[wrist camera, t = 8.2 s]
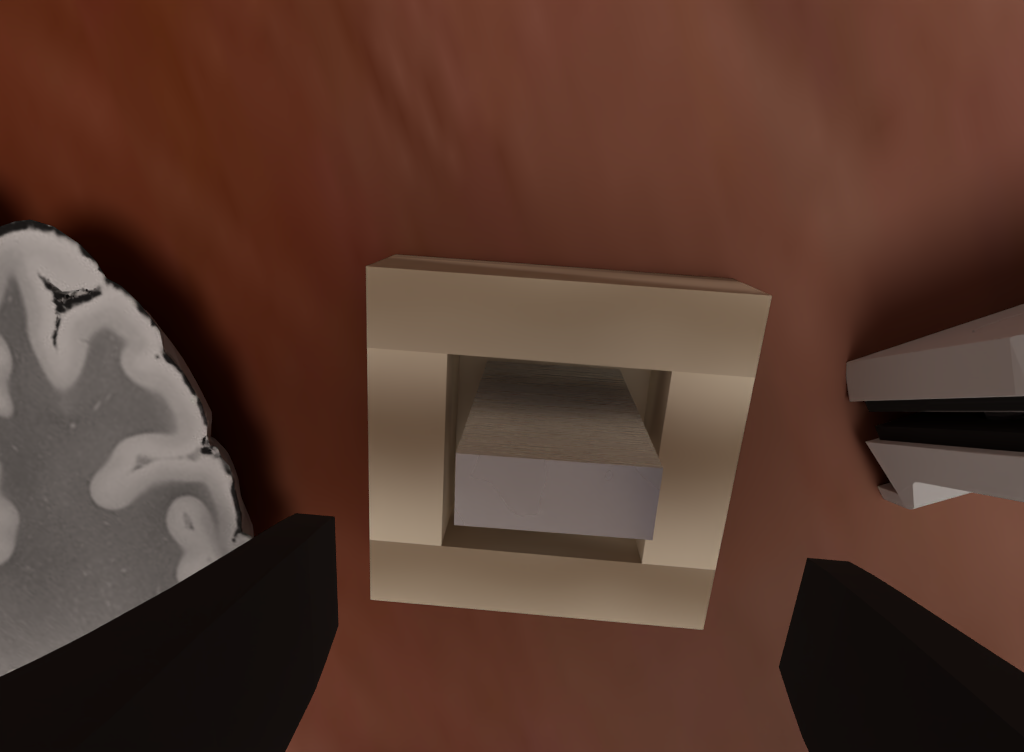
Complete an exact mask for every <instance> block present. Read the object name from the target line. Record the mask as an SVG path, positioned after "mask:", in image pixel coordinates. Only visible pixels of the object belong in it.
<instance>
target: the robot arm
mask: <svg viewBox="0 0 1024 752" xmlns="http://www.w3.org/2000/svg"><path fill="white" fill-rule="evenodd" d="M337 628H338V601H337V572H336V543H335V517H332V516H321V515H310V514H298V513H296V514H294V515H292V516H290V517H288V518H286V519H284V520H282V521H281V522H279V523H277V524H275V525H274V526H272V527H270V528H269V529H267V530H265V531H264V532H262V533H260V534H259V535H257V536H255V537H254V538H252V539H250V540H249V541H247V542H246V543H244V544H242V545H241V546H239V547H237V548H236V549H234V550H232V551H231V552H229V553H228V554H226V555H224V556H223V557H221V558H219V559H218V560H216V561H214V562H213V563H211V564H209V565H208V566H206V567H204V568H203V569H201V570H199V571H198V572H196V573H194V574H193V575H191V576H189V577H188V578H186V579H184V580H183V581H181V582H179V583H178V584H176V585H174V586H172V587H171V588H169V589H167V590H165V591H164V592H162V593H160V594H158V595H156V596H155V597H153V598H151V599H149V600H147V601H146V602H144V603H142V604H140V605H138V606H137V607H135V608H133V609H131V610H129V611H127V612H126V613H124V614H122V615H120V616H118V617H117V618H115V619H113V620H111V621H109V622H108V623H106V624H104V625H102V626H100V627H99V628H97V629H95V630H93V631H91V632H90V633H88V634H86V635H84V636H82V637H80V638H78V639H76V640H74V641H72V642H70V643H68V644H66V645H64V646H62V647H60V648H58V649H56V650H54V651H52V652H50V653H48V654H46V655H44V656H42V657H40V658H38V659H36V660H34V661H32V662H30V663H28V664H26V665H24V666H22V667H19V668H17V669H15V670H13V671H11V672H9V673H7V674H5V675H3V676H0V752H285V751H286V749H287V747H288V745H289V743H290V741H291V739H292V737H293V735H294V733H295V731H296V729H297V727H298V724H299V722H300V720H301V718H302V716H303V714H304V712H305V710H306V708H307V706H308V704H309V702H310V700H311V698H312V696H313V694H314V692H315V689H316V687H317V684H318V681H319V679H320V676H321V673H322V670H323V668H324V665H325V662H326V660H327V657H328V654H329V651H330V648H331V645H332V642H333V640H334V637H335V634H336V631H337ZM779 669H780V672H781V675H782V678H783V681H784V684H785V687H786V690H787V694H788V697H789V700H790V703H791V706H792V709H793V712H794V714H795V717H796V720H797V723H798V726H799V729H800V731H801V734H802V737H803V739H804V742H805V744H806V746H807V748H808V750H809V752H1024V673H1023V672H1022V671H1020V670H1019V669H1017V668H1016V667H1014V666H1013V665H1011V664H1009V663H1008V662H1006V661H1005V660H1003V659H1002V658H1000V657H999V656H997V655H996V654H994V653H992V652H991V651H989V650H988V649H986V648H985V647H983V646H982V645H980V644H979V643H977V642H976V641H974V640H973V639H971V638H969V637H968V636H966V635H965V634H963V633H962V632H960V631H959V630H957V629H956V628H954V627H953V626H951V625H950V624H948V623H947V622H945V621H944V620H942V619H941V618H939V617H937V616H936V615H934V614H933V613H931V612H930V611H928V610H927V609H925V608H924V607H922V606H921V605H919V604H918V603H916V602H915V601H913V600H912V599H910V598H908V597H907V596H905V595H904V594H902V593H901V592H899V591H898V590H896V589H894V588H893V587H891V586H890V585H888V584H887V583H885V582H883V581H882V580H880V579H878V578H877V577H875V576H874V575H872V574H870V573H868V572H867V571H865V570H863V569H862V568H860V567H858V566H856V565H854V564H852V563H850V562H848V561H836V560H825V559H813V558H807V561H806V565H805V569H804V573H803V577H802V581H801V584H800V588H799V592H798V596H797V600H796V604H795V607H794V611H793V615H792V619H791V623H790V626H789V630H788V634H787V638H786V642H785V646H784V649H783V653H782V657H781V661H780V665H779Z"/></svg>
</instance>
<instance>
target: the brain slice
mask: <svg viewBox="0 0 1024 752" xmlns="http://www.w3.org/2000/svg"><path fill="white" fill-rule="evenodd" d="M211 423H212V412H211V410H210V408H209V406H208V404H207V402H206V400H205V398H204V396H203V394H202V392H201V390H200V388H199V386H198V384H197V382H196V380H195V378H194V377H193V375H192V373H191V371H190V370H189V368H188V366H187V365H186V363H185V361H184V359H183V358H182V356H181V355H180V354H179V352H178V351H177V349H176V348H175V346H174V345H173V344H172V342H171V341H170V340H169V339H168V337H167V336H166V335H165V334H164V332H163V331H162V330H161V328H160V327H159V326H158V324H157V323H156V322H155V320H154V319H153V318H152V316H151V315H150V314H149V313H148V312H147V311H146V310H145V309H144V308H143V307H142V306H141V305H140V303H139V302H138V301H137V300H136V299H134V298H133V297H132V296H131V295H130V294H129V293H128V292H127V291H126V290H125V289H124V288H123V287H122V286H121V285H119V284H117V283H115V282H113V281H111V280H109V279H107V278H106V277H105V275H104V273H103V272H102V270H101V268H100V267H99V265H98V264H97V262H96V261H95V260H94V259H93V258H92V256H91V255H90V254H89V253H88V252H87V251H86V250H85V249H84V248H83V247H82V246H81V245H80V244H79V243H77V242H76V241H74V240H73V239H71V238H70V237H68V236H67V235H65V234H64V233H62V232H61V231H59V230H58V229H56V228H55V227H53V226H50V225H46V224H43V223H40V222H37V221H33V220H23V221H15V222H12V223H9V224H6V225H3V226H0V676H3V675H5V674H7V673H9V672H11V671H13V670H15V669H17V668H19V667H22V666H24V665H26V664H28V663H30V662H32V661H34V660H36V659H38V658H40V657H42V656H44V655H46V654H48V653H50V652H52V651H54V650H56V649H58V648H60V647H62V646H64V645H66V644H68V643H70V642H72V641H74V640H76V639H78V638H80V637H82V636H84V635H86V634H88V633H90V632H91V631H93V630H95V629H97V628H99V627H100V626H102V625H104V624H106V623H108V622H109V621H111V620H113V619H115V618H117V617H118V616H120V615H122V614H124V613H126V612H127V611H129V610H131V609H133V608H135V607H137V606H138V605H140V604H142V603H144V602H146V601H147V600H149V599H151V598H153V597H155V596H156V595H158V594H160V593H162V592H164V591H165V590H167V589H169V588H171V587H172V586H174V585H176V584H178V583H179V582H181V581H183V580H184V579H186V578H188V577H189V576H191V575H193V574H194V573H196V572H198V571H199V570H201V569H203V568H204V567H206V566H208V565H209V564H211V563H213V562H214V561H216V560H218V559H219V558H221V557H223V556H224V555H226V554H228V553H229V552H231V551H232V550H234V549H236V548H237V547H239V546H241V545H242V544H244V543H246V542H247V541H249V540H250V539H252V538H254V534H253V525H252V522H251V520H250V517H249V515H248V512H247V510H246V507H245V505H244V502H243V500H242V498H241V493H240V486H239V480H238V476H237V473H236V470H235V467H234V465H233V462H232V460H231V458H230V456H229V454H228V452H227V451H226V449H225V448H224V447H223V446H222V445H221V444H220V443H219V442H218V441H217V440H216V439H215V438H213V437H211Z"/></svg>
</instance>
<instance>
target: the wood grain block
mask: <svg viewBox="0 0 1024 752" xmlns="http://www.w3.org/2000/svg"><path fill="white" fill-rule="evenodd" d="M662 473H663V467H662V464H661V462H660V460H659V457H658V455H657V453H656V451H655V448H654V446H653V444H652V442H651V439H650V437H649V435H648V432H647V430H646V428H645V426H644V423H643V421H642V419H641V417H640V414H639V412H638V410H637V407H636V405H635V403H634V401H633V398H632V396H631V394H630V392H629V389H628V387H627V385H626V382H625V380H624V378H623V376H622V373H621V371H620V369H605V368H590V367H575V366H560V365H545V364H530V363H515V362H500V361H487V363H486V366H485V369H484V372H483V375H482V378H481V381H480V384H479V387H478V390H477V393H476V396H475V399H474V402H473V405H472V407H471V410H470V413H469V416H468V419H467V422H466V425H465V428H464V431H463V434H462V437H461V440H460V443H459V446H458V449H457V452H456V469H455V508H454V525H461V526H474V527H487V528H500V529H513V530H526V531H539V532H552V533H565V534H578V535H591V536H604V537H617V538H630V539H643V540H653V533H654V527H655V520H656V513H657V506H658V500H659V493H660V486H661V480H662Z"/></svg>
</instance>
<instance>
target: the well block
mask: <svg viewBox="0 0 1024 752" xmlns="http://www.w3.org/2000/svg"><path fill="white" fill-rule="evenodd" d="M771 298H772V296H771V295H769V294H767V293H764V292H762V291H760V290H758V289H755V288H753V287H751V286H748V285H746V284H744V283H742V282H739V281H737V280H735V279H731V278H717V277H703V276H689V275H675V274H661V273H647V272H633V271H619V270H605V269H591V268H578V267H564V266H550V265H536V264H522V263H508V262H494V261H480V260H466V259H452V258H438V257H424V256H411V255H397V254H396V255H393V256H391V257H388V258H386V259H383V260H381V261H378V262H376V263H373V264H370V265H368V266H366V305H367V377H368V450H369V522H370V595H371V600H381V601H392V602H403V603H414V604H425V605H436V606H447V607H458V608H469V609H480V610H491V611H502V612H513V613H524V614H535V615H546V616H557V617H568V618H579V619H590V620H601V621H612V622H623V623H634V624H645V625H656V626H667V627H678V628H689V629H700V630H703V628H704V623H705V618H706V613H707V608H708V604H709V599H710V594H711V589H712V584H713V579H714V575H715V570H716V565H717V560H718V555H719V550H720V545H721V541H722V536H723V531H724V526H725V521H726V516H727V511H728V507H729V502H730V497H731V492H732V487H733V482H734V477H735V473H736V468H737V463H738V458H739V453H740V448H741V443H742V439H743V434H744V429H745V424H746V419H747V414H748V410H749V405H750V400H751V395H752V390H753V385H754V380H755V376H756V371H757V366H758V361H759V356H760V351H761V346H762V342H763V337H764V332H765V327H766V322H767V317H768V312H769V308H770V303H771ZM487 361H500V362H515V363H530V364H545V365H560V366H575V367H590V368H605V369H620V371H621V373H622V376H623V378H624V380H625V382H626V385H627V387H628V389H629V392H630V394H631V396H632V398H633V401H634V403H635V405H636V407H637V410H638V412H639V414H640V417H641V419H642V421H643V423H644V426H645V428H646V430H647V432H648V435H649V437H650V439H651V442H652V444H653V446H654V448H655V451H656V453H657V455H658V457H659V460H660V462H661V464H662V467H663V473H662V480H661V486H660V493H659V500H658V506H657V513H656V520H655V527H654V533H653V540H643V539H630V538H617V537H604V536H591V535H578V534H565V533H552V532H539V531H526V530H513V529H500V528H487V527H474V526H461V525H454V508H455V469H456V452H457V449H458V446H459V443H460V440H461V437H462V434H463V431H464V428H465V425H466V422H467V419H468V416H469V413H470V410H471V407H472V405H473V402H474V399H475V396H476V393H477V390H478V387H479V384H480V381H481V378H482V375H483V372H484V369H485V366H486V363H487Z"/></svg>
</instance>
